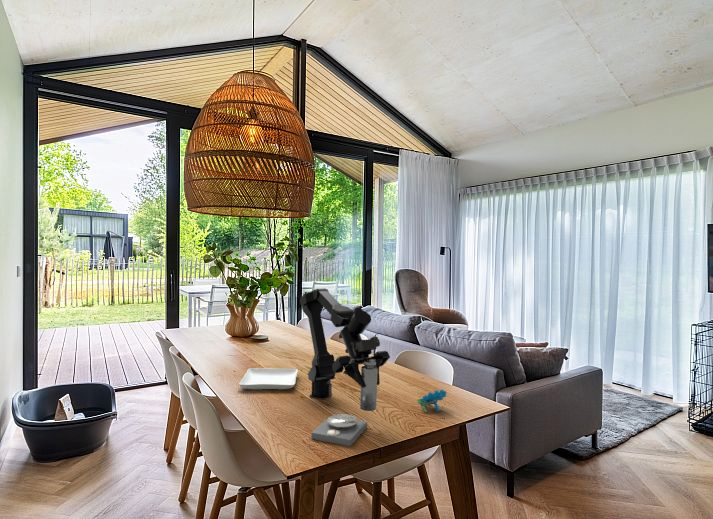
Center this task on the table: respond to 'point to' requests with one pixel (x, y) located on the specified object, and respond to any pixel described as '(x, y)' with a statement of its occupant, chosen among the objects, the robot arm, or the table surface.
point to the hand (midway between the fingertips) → (371, 385)
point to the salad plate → (269, 378)
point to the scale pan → (342, 420)
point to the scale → (339, 433)
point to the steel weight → (369, 386)
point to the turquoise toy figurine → (432, 399)
